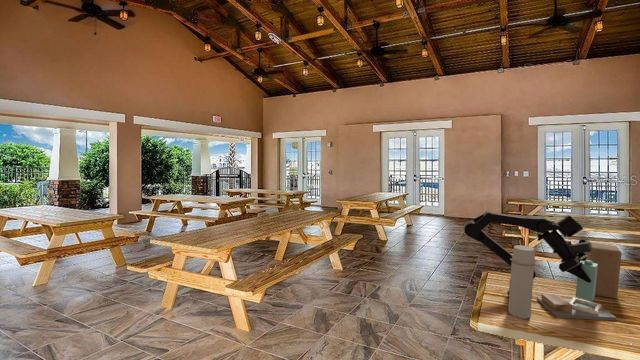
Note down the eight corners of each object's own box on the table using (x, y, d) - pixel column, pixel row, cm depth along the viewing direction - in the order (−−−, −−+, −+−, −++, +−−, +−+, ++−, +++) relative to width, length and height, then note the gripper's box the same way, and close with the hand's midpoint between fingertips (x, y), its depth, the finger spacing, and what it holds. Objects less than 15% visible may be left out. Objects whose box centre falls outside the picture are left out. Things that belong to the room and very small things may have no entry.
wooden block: (617, 299, 138) (622, 251, 136) (586, 294, 143) (590, 247, 141) (612, 291, 147) (617, 245, 145) (583, 285, 152) (587, 241, 150)
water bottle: (534, 321, 120) (539, 252, 118) (509, 318, 123) (514, 249, 120) (527, 309, 129) (531, 244, 127) (503, 306, 131) (507, 242, 129)
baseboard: (557, 317, 123) (557, 310, 123) (537, 299, 137) (537, 294, 137) (616, 320, 121) (617, 314, 121) (589, 302, 135) (590, 296, 135)
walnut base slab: (554, 310, 126) (554, 304, 126) (541, 299, 135) (541, 293, 134) (571, 311, 125) (572, 305, 125) (557, 300, 134) (558, 294, 134)
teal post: (575, 297, 129) (578, 260, 127) (578, 293, 132) (581, 257, 131) (592, 301, 125) (596, 264, 124) (594, 297, 128) (598, 261, 127)
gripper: (572, 237, 122) (609, 275, 116) (582, 228, 135) (616, 263, 129) (545, 253, 129) (578, 291, 122) (557, 244, 142) (588, 277, 135)
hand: (591, 280), depth 127 cm, fingers closed on teal post, 5 cm apart
